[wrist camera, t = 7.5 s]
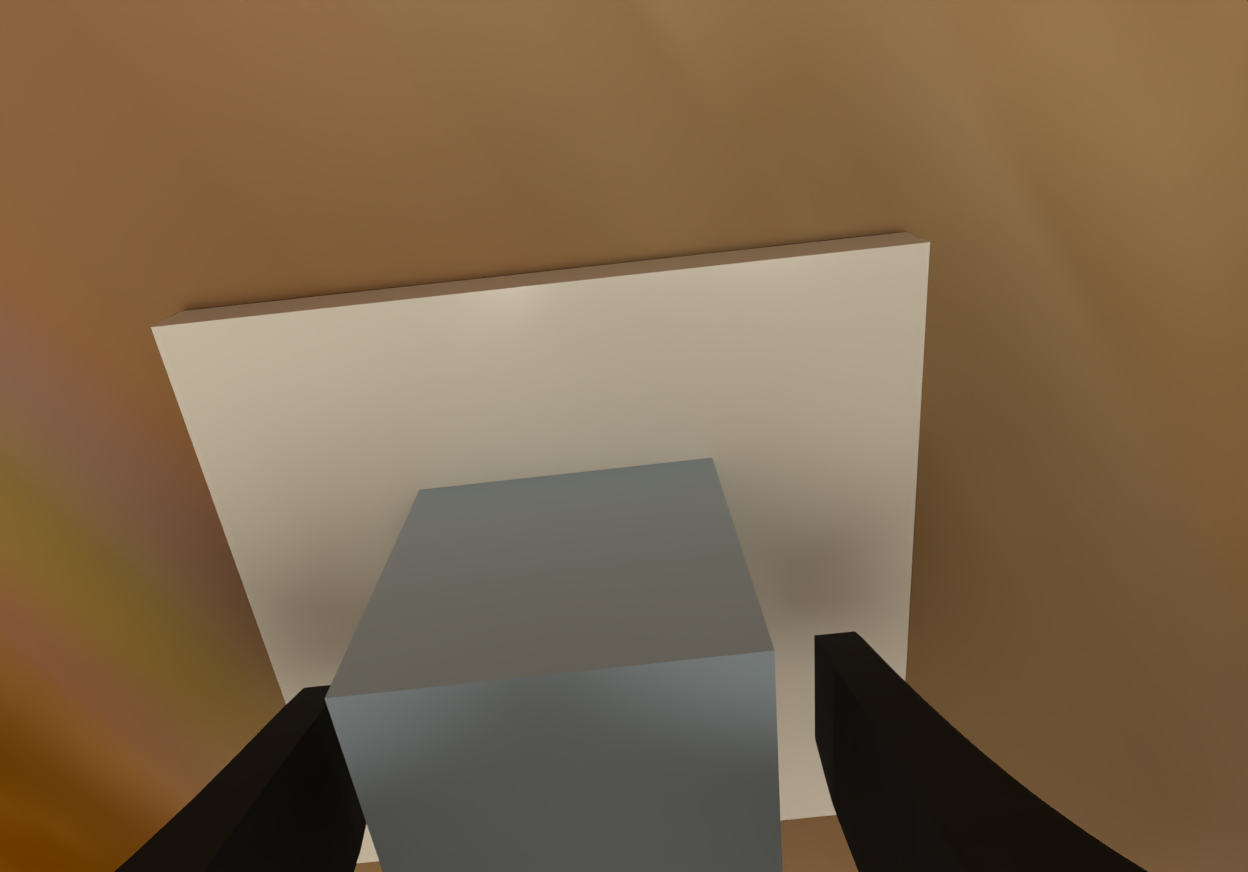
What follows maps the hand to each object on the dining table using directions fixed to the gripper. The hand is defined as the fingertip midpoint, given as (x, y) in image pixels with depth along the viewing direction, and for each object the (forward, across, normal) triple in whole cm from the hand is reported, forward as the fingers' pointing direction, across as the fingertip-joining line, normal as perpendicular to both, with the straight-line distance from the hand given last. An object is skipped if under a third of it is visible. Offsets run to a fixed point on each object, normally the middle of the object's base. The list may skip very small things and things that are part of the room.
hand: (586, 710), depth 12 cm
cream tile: (+4, 0, 0) cm, 4 cm away
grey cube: (+3, 0, 0) cm, 3 cm away
